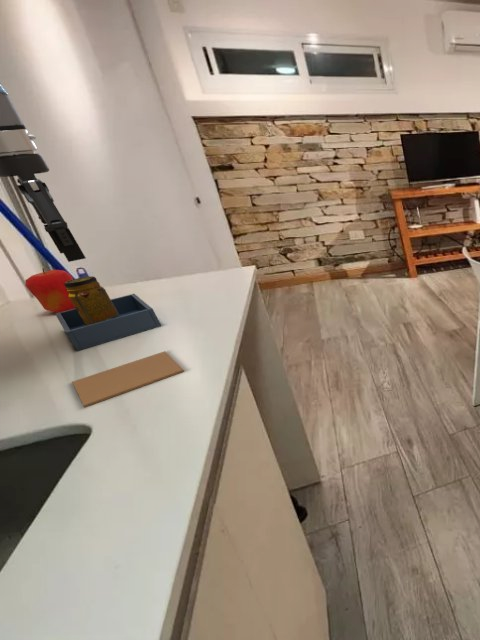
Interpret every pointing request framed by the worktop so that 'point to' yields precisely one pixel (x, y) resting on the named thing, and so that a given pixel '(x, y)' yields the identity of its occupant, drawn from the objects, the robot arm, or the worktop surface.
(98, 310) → the condiment
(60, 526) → the worktop surface
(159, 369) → the mat
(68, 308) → the apple
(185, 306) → the worktop surface
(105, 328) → the bin
